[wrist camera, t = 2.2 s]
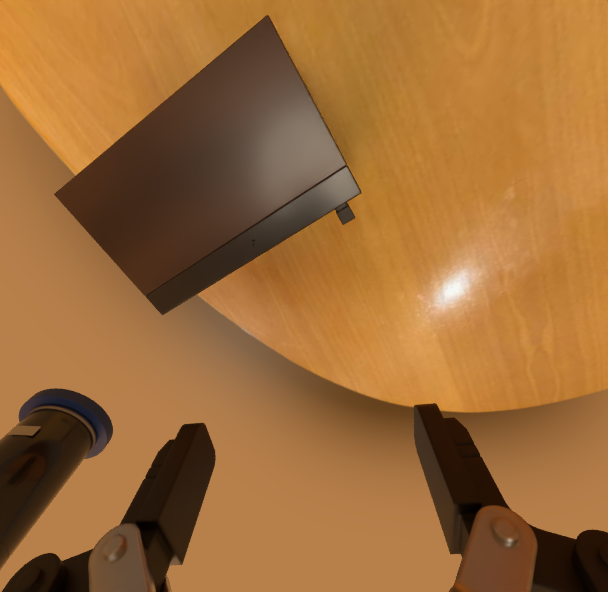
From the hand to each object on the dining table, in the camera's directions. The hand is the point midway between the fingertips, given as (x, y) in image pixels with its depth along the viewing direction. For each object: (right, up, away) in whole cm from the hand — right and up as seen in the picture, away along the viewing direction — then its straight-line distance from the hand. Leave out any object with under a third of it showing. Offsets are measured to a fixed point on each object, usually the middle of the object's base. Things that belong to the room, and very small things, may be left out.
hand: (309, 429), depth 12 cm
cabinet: (-6, +17, +18) cm, 26 cm away
